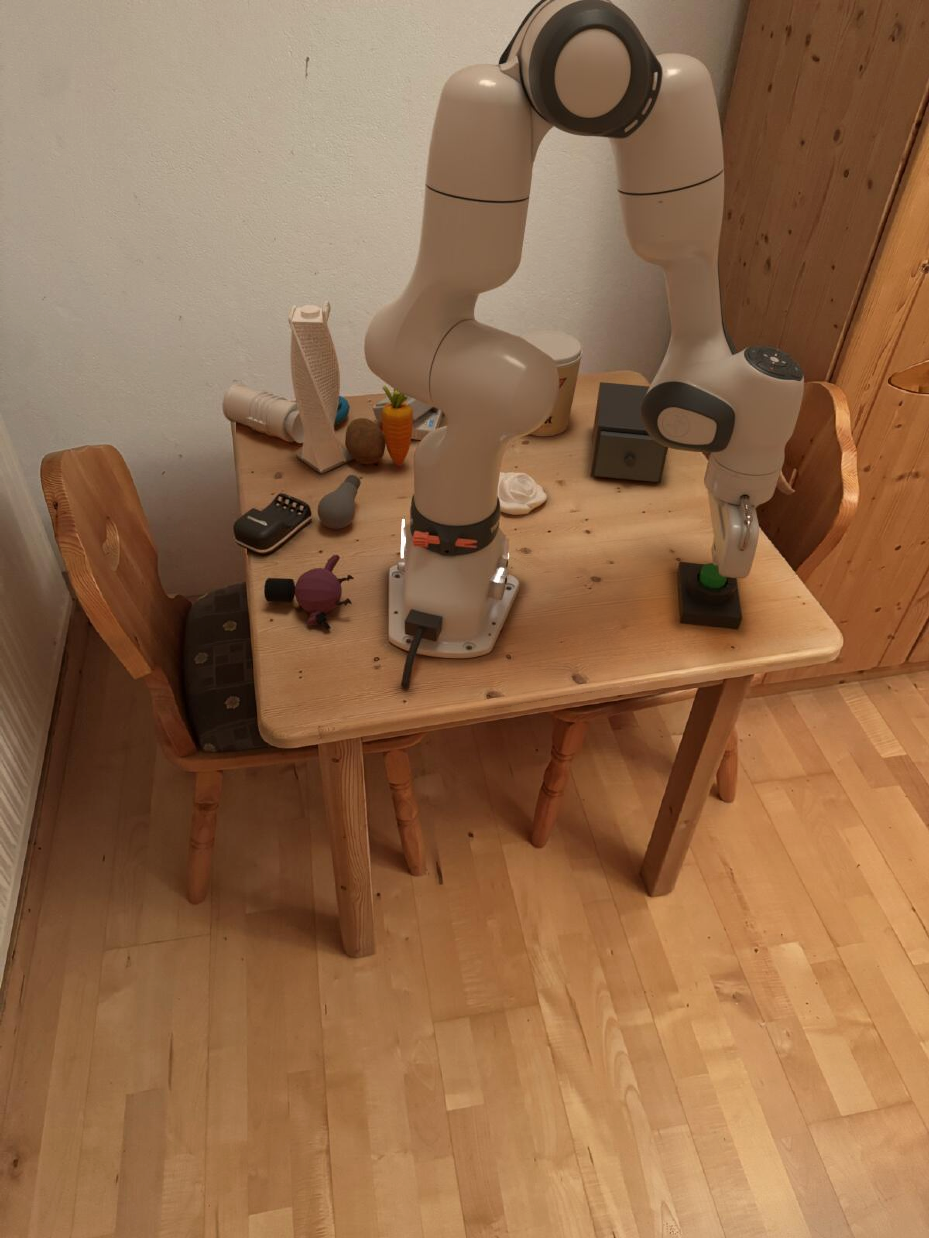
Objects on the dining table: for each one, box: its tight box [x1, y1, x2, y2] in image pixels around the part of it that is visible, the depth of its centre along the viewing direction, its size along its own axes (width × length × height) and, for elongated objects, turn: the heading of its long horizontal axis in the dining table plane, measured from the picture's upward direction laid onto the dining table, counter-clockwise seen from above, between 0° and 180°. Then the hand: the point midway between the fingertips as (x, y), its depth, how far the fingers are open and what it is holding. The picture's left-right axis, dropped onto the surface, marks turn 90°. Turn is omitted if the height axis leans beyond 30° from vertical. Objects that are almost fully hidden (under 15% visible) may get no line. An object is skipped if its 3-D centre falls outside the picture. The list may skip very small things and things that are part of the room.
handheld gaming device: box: [372, 391, 433, 423], centre depth 158 cm, size 9×15×4 cm, turn 153°
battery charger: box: [232, 492, 313, 556], centre depth 134 cm, size 7×4×11 cm
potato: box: [344, 417, 386, 465], centre depth 148 cm, size 7×10×6 cm
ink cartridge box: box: [381, 407, 444, 441], centre depth 158 cm, size 2×11×10 cm
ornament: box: [334, 395, 351, 427], centre depth 158 cm, size 8×5×10 cm
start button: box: [699, 562, 727, 589], centre depth 123 cm, size 4×4×2 cm
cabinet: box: [590, 381, 669, 484], centre depth 150 cm, size 15×12×10 cm
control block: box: [676, 561, 743, 631], centre depth 125 cm, size 11×8×4 cm
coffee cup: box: [520, 329, 584, 437], centre depth 155 cm, size 12×12×15 cm
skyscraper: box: [287, 299, 356, 475], centre depth 140 cm, size 8×8×28 cm
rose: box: [498, 471, 548, 516], centre depth 141 cm, size 10×4×10 cm
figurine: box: [263, 554, 355, 631], centre depth 121 cm, size 8×8×12 cm
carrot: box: [381, 385, 413, 467], centre depth 144 cm, size 5×5×15 cm
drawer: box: [594, 430, 665, 483], centre depth 148 cm, size 15×10×8 cm
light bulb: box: [317, 474, 362, 530], centre depth 136 cm, size 6×6×10 cm
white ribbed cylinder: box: [221, 383, 305, 444], centre depth 154 cm, size 7×7×15 cm
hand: (718, 559), depth 122 cm, fingers closed
